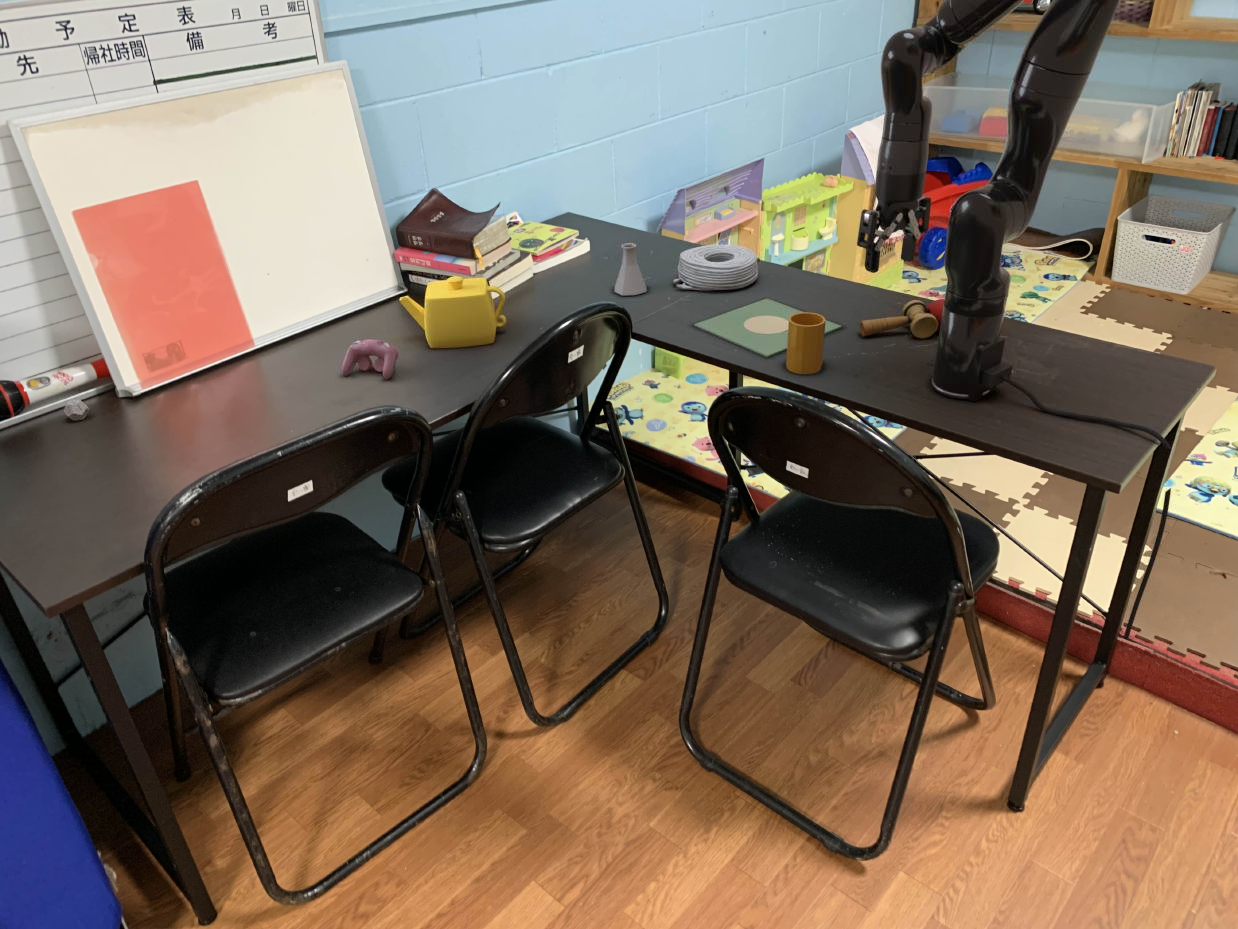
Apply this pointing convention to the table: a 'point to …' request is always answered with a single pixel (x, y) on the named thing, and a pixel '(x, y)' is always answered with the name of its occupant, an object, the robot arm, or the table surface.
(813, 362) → the cup
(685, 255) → the cable
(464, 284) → the teapot
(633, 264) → the flask
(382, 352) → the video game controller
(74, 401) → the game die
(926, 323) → the kendama
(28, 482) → the table surface
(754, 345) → the mat
